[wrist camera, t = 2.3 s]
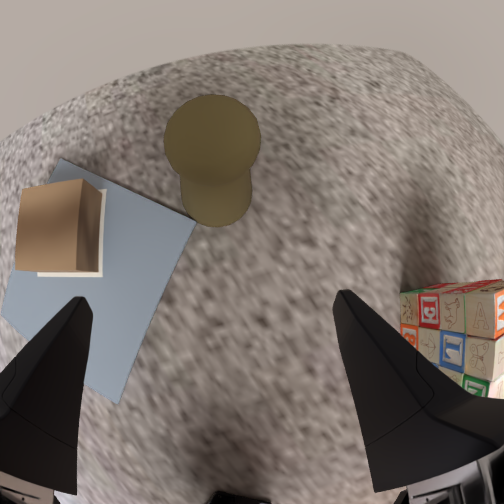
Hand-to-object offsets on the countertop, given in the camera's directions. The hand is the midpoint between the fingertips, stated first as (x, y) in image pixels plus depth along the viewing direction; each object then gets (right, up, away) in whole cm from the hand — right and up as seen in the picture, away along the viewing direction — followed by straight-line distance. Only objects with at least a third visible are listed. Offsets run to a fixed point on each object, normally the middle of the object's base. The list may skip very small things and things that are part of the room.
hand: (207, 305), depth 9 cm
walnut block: (-15, +3, +12) cm, 20 cm away
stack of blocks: (+20, -12, +14) cm, 27 cm away
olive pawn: (-2, +7, +14) cm, 16 cm away
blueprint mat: (-14, 0, +12) cm, 19 cm away
